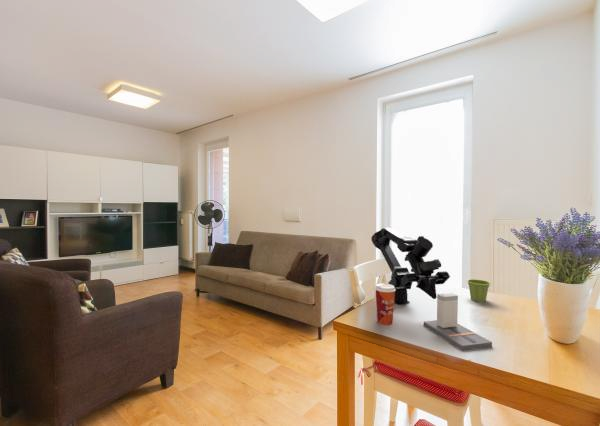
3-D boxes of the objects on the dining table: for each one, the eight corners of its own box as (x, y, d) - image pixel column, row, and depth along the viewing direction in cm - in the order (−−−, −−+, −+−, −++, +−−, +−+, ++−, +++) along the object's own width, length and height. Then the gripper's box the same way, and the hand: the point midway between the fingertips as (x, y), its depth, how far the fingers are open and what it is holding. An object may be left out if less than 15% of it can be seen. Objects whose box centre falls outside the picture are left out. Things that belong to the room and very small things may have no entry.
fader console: (423, 325, 109) (423, 321, 109) (449, 322, 112) (449, 318, 112) (462, 350, 91) (462, 345, 91) (491, 346, 93) (492, 341, 93)
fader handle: (436, 324, 106) (437, 294, 106) (451, 323, 107) (451, 293, 107) (442, 327, 103) (443, 296, 103) (457, 326, 104) (457, 295, 104)
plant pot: (463, 296, 144) (464, 278, 143) (485, 297, 142) (485, 279, 142) (470, 302, 135) (471, 283, 134) (493, 304, 133) (494, 285, 132)
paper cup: (384, 327, 108) (384, 289, 107) (370, 320, 114) (370, 284, 114) (400, 323, 111) (400, 286, 111) (385, 316, 118) (385, 282, 117)
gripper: (405, 253, 114) (422, 289, 104) (447, 251, 118) (468, 286, 108) (394, 269, 122) (409, 304, 112) (433, 267, 126) (452, 300, 116)
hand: (435, 298), depth 111 cm, fingers closed
